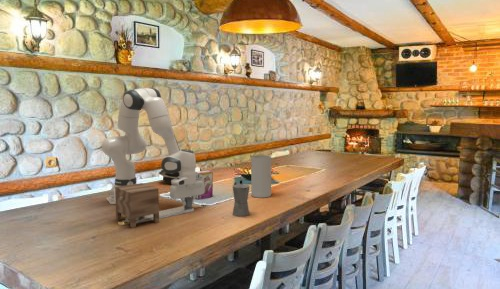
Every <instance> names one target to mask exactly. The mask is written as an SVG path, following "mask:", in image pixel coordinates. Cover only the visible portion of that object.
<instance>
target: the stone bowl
mask: <svg viewBox="0 0 500 289" xmlns="http://www.w3.org/2000/svg"><path fill="white" fill-rule="evenodd" d="M158 174H159V175H161V176H162V177H163V178H162V179H163V181H164V183H165V185H172V184H171V180H173V179H175V178H177V177H178V176H179V172H177V173H172V174H168V173H166V172H164V171H163V169H161V170H160V171H159V172H158Z"/></svg>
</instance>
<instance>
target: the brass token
mask: <svg viewBox="0 0 500 289" xmlns="http://www.w3.org/2000/svg"><path fill="white" fill-rule="evenodd" d="M117 225H118V226H128V225H130V223H129V221H127V220H125V219H124V220H118V222H117Z"/></svg>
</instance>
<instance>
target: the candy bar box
mask: <svg viewBox="0 0 500 289" xmlns="http://www.w3.org/2000/svg"><path fill="white" fill-rule="evenodd" d="M195 172H196V178H203V180H204V188H205V192H204V194H201V195H195V199H194V200H203V199H208V198H212V197H213V196H214V195H213V191H214V190H213V188H214V186H213V183H214V182H213V181H214V180H213V179H214V178H213V176H214V173H213V172H214V171H213V170H210V169H209V170H202V171H201V170H200V171H195Z"/></svg>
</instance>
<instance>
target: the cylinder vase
mask: <svg viewBox="0 0 500 289" xmlns="http://www.w3.org/2000/svg"><path fill="white" fill-rule="evenodd" d="M250 159H251V163H250V164H251V168H250V169H251V170H250V174H251V175H250V176H251V177H250V178H251V180H250V182H251V184H250V186H251V187H250V188H251V190H250V193H251V196H252V197H254V198H257V199H258V198H259V199H264V198H266V199H267V198H270V197H271V196H272V156H271V155H266V154H265V155H263V154H261V155H260V154H258V155H252V156H251V158H250Z"/></svg>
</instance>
